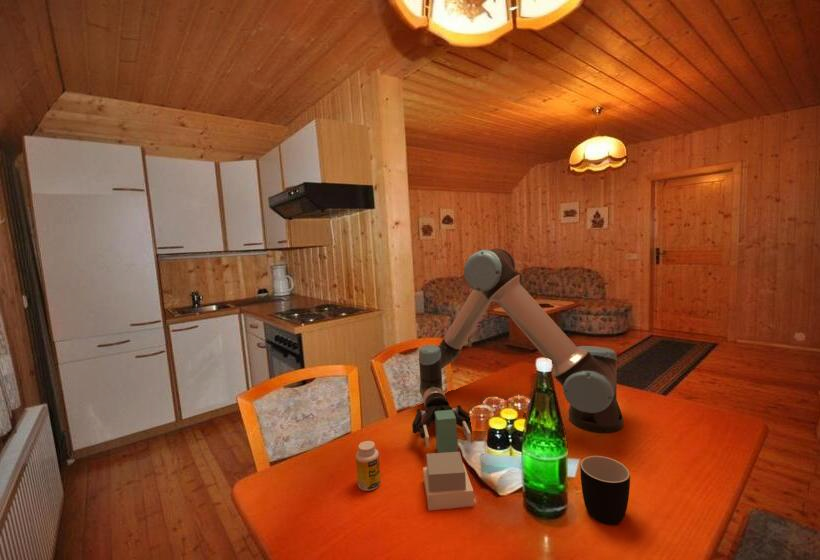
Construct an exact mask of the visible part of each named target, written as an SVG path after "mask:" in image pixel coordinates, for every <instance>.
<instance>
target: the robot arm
mask: <svg viewBox="0 0 820 560" xmlns="http://www.w3.org/2000/svg"><path fill="white" fill-rule="evenodd" d="M463 275H464V279H465V281H466V283H467V285H468V286H469V287H470V288H471V289H472V291H471V293H470V294H468V295H469V296H468V297H467V299H466V300H465V301H464V304H463V305H462V307H461V309H460V310H459V311H458V314H457V316H456V317H455V319H454V320H453V322H452V323H451V325H450V326H449V328H448V330H447V332H446V333H445V335H444V336H443V338H442V340H441V342H440V343H439V345H431V344H430V345H429V344H428V345H425V346H424V345H423V346H421V347H420V348H419V350H418V367H419V378H420V379H419V380H420V383H419V392H420V396H421V399H422V402H423V405H424V410H421V409H420V408H417V409H416V415H415V417H414V419H413V422H412V424H411V425H412V427H411V428H412V433H413V434H417V433H418V434H419V437H420V439H424V442H425V446H426V448H430V435H429V432H428V428H429V427H430V426H431V425H433V424H434V423H435V411H443V410H453V412H454V414H455V417H456V426H459V427H461V428H462V432H463V434H464V437H465V439H466V441H467V442H468V443H469V444H470V443H472V434H473V432H472V431H473V430H472V429H473V428H472V427H471V422H470V417H469V415H470V414H469V413H468V412H467V411H466V410H465V409H463V408H462V406H461V405H457V406H456V407H454V408H453V407H452V406H450V404H449V401H448V399H447V396H446V395H445V392H444V390H443V374H442V373H443V372H442V370H443V369H444V368H445V367H446V366H448V365H450V364H451V363H453V362H454V361H456V360H457V359H458V358H459V356H460V355H461V351H462V348H463V347H464V345H465V344H466V342H467V341H468V339H469V337H470V336H471V334H473V331H474V330H475V328H476V326H477V325H478V324H479V321H481V318H482V317H483V316H484V314H485V313H486V311H487V310H488V308H489V306H490V304H491V303H492V302H496V303H497V304H498V305H499V306H500V307H501V309H503V311H504V312H505V313H506V314H507V315H508V316H509V318H510V319H511V320H512V322H513V323H515V324H516V326H517V327H518V328H519V329H520V331H521V332H522V333H523V334H524V335H525V337H526V338H528V340H529V341H530V342H531V343H532V345H534V347H535V348H536V349H537V350H538V351H539V353H540V354H541V355H542V356H543V357H544V358H545V359H546V358H549V359H551V360H552V364H553V366H552V368H553V370H552V376H553V377H554V378H555V379H556V381H557V382H558V383H559V385H561V387H562V390H563V395H564V398H565V400H566V401H567V403H568V404H569V408H568V410H567V411H568V413H567V414H568V415H567V416H568V420H569V421H570V422H571V423H572V424H573V425H575V426H576V427H578V428H581V429H582V430H585V431H590V432H595V433H602V434H604V433H605V434H606V433H608V434H609V433H615V432H617V431H620V430H621V429H623V427H624V416H623V413H622V411H621V407H620V405H619V403H618V399H617V397H618V396H617V386H618V385H617V381H618V380H617V374H618V373H617V371H618V370H617V365H618V364H617V361H618V358H617V352H616V351H615V350H614V349H612V348H608V347H603V346H595V345H594V346H593V345H581V346H579V345H578V346H577V345H576V344H575V343H574V342H573V341H572V340H571V339H570V338H569V337H568V336H567V334H566V333H565V332H564V331H563V330H562V329H561V328H560V327H559V325H558V324H557V323H556V322H555V321H554V320H553V319H552V318H551V317H550V315H548V313H547V312H546V311H545V310H544V309H543V308H542V307H541V306H540V304H539V303H538V302H537V301H536V300H535V299H534V298H533V297H532V295H531V294H530V293H529V292H528V291H527V290H526V289H525V288H524V287H523V285H522V284H521V281H520V277H521V276H520V274H519V273H518V272H517V271H516V262H515V259H514V258H513V256H512V254H511V253H509V251H507V250H505V249H502V248H492V249H491V248H490V249H482V250H479V251H477V252H474V253H472V255H470V256H469V257H468V259H467V260H466V261H465V263H464V268H463Z"/></svg>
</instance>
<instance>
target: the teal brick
mask: <svg viewBox="0 0 820 560" xmlns="http://www.w3.org/2000/svg"><path fill="white" fill-rule="evenodd" d="M434 423H435V442H436V446H435V447H436V451H437V452H436V453H446V452H459V451H458V449H459V448H458V431H457V427H458V425H457V424H456V417H455V414H454V412H453V410H443V411H435V422H434Z"/></svg>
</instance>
